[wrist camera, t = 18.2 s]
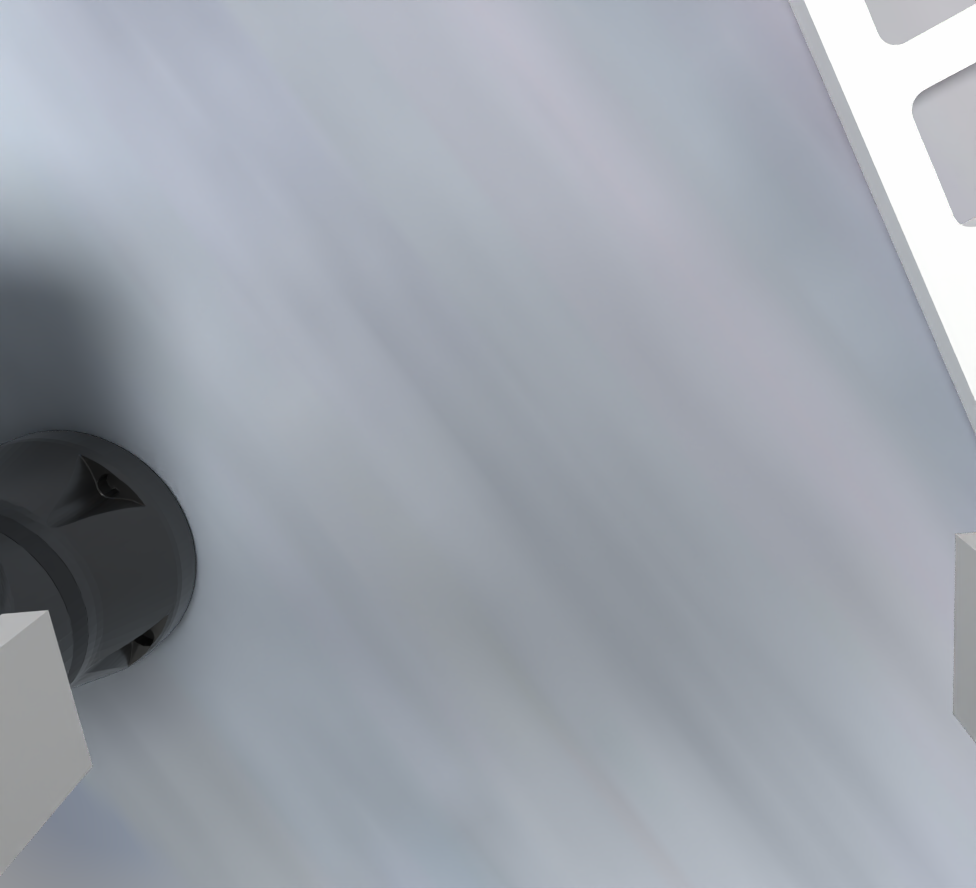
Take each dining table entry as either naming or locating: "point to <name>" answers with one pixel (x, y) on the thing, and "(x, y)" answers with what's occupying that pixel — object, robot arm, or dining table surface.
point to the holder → (905, 159)
